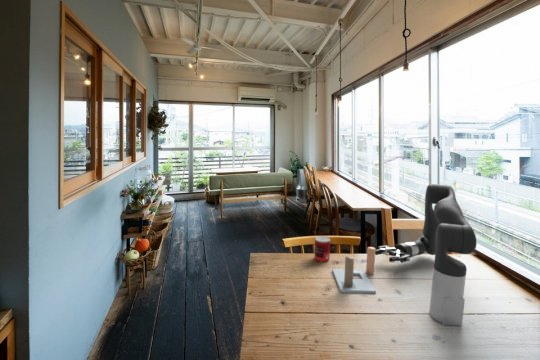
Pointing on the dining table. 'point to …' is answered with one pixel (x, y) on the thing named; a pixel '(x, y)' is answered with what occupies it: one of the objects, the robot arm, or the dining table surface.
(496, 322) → the dining table surface
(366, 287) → the board
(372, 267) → the wooden peg
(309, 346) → the dining table surface
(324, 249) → the canned food
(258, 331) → the dining table surface
